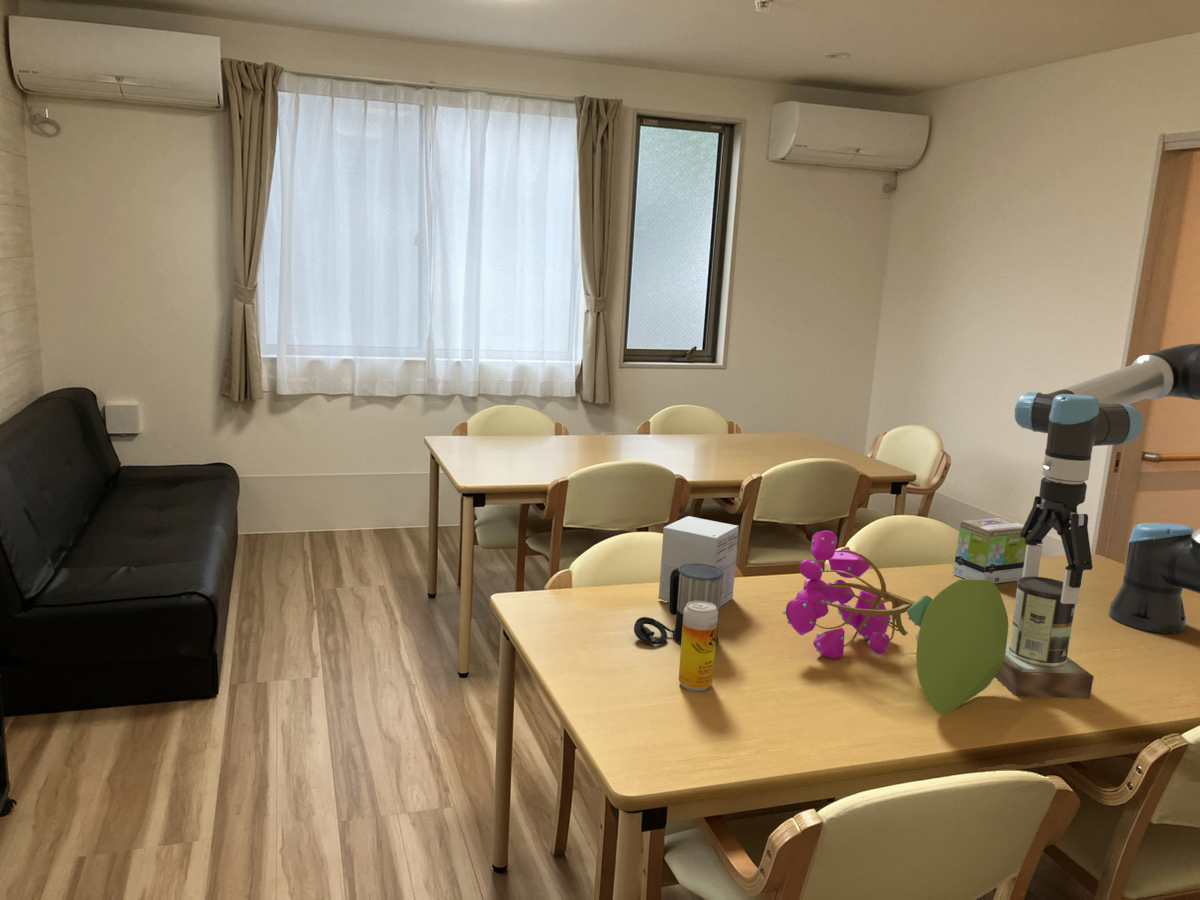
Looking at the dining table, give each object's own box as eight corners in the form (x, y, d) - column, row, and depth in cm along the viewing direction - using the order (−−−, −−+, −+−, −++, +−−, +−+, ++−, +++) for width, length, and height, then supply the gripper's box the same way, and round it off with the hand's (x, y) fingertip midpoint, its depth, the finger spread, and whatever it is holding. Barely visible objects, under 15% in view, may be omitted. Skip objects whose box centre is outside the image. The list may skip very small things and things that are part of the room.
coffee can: (1057, 648, 176) (1068, 579, 173) (1073, 670, 166) (1085, 597, 163) (1001, 641, 178) (1011, 573, 175) (1014, 662, 168) (1024, 590, 165)
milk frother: (728, 641, 184) (734, 571, 181) (678, 662, 172) (684, 587, 170) (674, 620, 193) (679, 554, 190) (623, 638, 182) (628, 568, 179)
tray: (1049, 666, 180) (1052, 642, 179) (1089, 698, 166) (1094, 673, 165) (980, 664, 179) (983, 640, 178) (1015, 696, 165) (1019, 670, 164)
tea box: (983, 587, 227) (991, 530, 224) (951, 574, 236) (958, 519, 233) (1023, 581, 234) (1032, 525, 231) (991, 569, 243) (998, 515, 240)
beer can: (703, 695, 159) (709, 614, 156) (672, 686, 162) (678, 606, 159) (717, 683, 164) (724, 605, 161) (687, 674, 167) (693, 597, 164)
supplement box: (734, 598, 209) (740, 525, 205) (710, 615, 198) (717, 538, 194) (682, 586, 215) (687, 515, 212) (656, 601, 204) (662, 526, 201)
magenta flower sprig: (930, 542, 153) (778, 520, 181) (904, 712, 150) (754, 663, 179) (1025, 564, 170) (872, 541, 198) (1002, 717, 167) (851, 671, 196)
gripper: (1010, 464, 177) (997, 567, 181) (1083, 495, 153) (1066, 614, 157) (1047, 465, 178) (1033, 568, 182) (1126, 496, 153) (1107, 615, 157)
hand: (1048, 590), depth 169 cm, fingers open, 13 cm apart
